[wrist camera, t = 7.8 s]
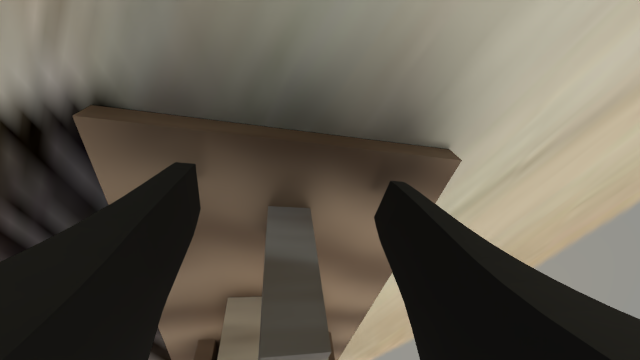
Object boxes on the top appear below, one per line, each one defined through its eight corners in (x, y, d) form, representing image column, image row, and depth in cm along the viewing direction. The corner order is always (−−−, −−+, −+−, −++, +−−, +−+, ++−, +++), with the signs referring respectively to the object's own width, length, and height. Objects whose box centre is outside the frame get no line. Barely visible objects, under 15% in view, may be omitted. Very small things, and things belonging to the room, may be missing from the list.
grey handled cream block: (306, 333, 20) (314, 437, 15) (230, 338, 19) (213, 453, 14) (349, 210, 12) (394, 346, 7) (222, 203, 11) (177, 364, 6)
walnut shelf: (328, 361, 28) (341, 457, 22) (185, 374, 24) (156, 491, 19) (449, 149, 12) (609, 291, 6) (91, 105, 9) (-294, 320, 3)
